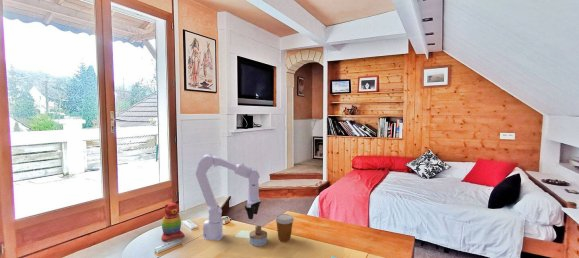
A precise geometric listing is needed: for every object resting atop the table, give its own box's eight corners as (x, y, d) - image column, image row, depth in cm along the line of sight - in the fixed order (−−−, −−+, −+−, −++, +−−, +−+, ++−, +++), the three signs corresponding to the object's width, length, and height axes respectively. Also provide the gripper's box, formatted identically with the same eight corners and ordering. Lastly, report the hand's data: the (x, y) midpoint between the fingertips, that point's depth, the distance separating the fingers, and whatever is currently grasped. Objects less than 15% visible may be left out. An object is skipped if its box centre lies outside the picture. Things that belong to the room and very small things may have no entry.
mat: (234, 238, 143) (234, 236, 143) (240, 231, 152) (240, 230, 152) (250, 239, 141) (250, 238, 141) (256, 232, 150) (256, 231, 150)
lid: (246, 237, 135) (246, 229, 135) (253, 230, 143) (253, 222, 143) (263, 240, 132) (263, 231, 132) (269, 232, 141) (269, 224, 141)
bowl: (247, 246, 135) (247, 238, 134) (252, 238, 143) (253, 230, 143) (264, 247, 133) (264, 239, 133) (269, 240, 141) (269, 232, 141)
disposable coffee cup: (291, 244, 137) (291, 221, 136) (273, 242, 139) (273, 219, 138) (294, 236, 146) (295, 214, 146) (277, 234, 148) (278, 212, 148)
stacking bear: (163, 242, 137) (163, 207, 136) (158, 235, 145) (158, 202, 144) (185, 237, 144) (185, 203, 143) (179, 230, 152) (179, 199, 151)
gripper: (256, 195, 139) (255, 222, 140) (264, 188, 153) (263, 212, 154) (243, 195, 140) (242, 220, 141) (252, 187, 155) (252, 211, 155)
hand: (253, 216), depth 148 cm, fingers open, 7 cm apart
